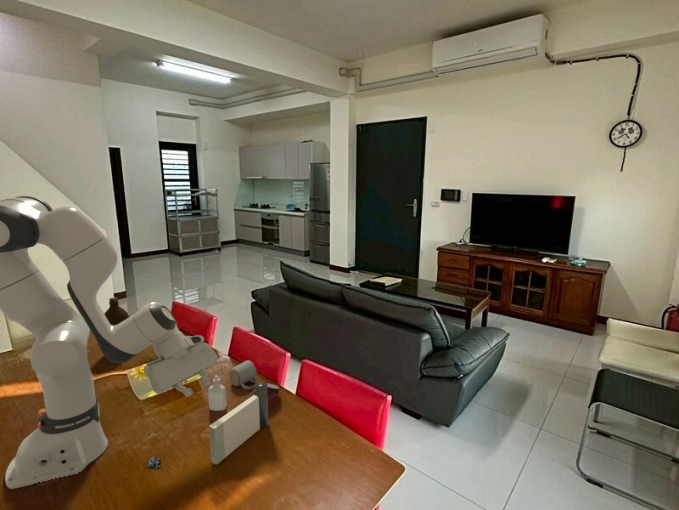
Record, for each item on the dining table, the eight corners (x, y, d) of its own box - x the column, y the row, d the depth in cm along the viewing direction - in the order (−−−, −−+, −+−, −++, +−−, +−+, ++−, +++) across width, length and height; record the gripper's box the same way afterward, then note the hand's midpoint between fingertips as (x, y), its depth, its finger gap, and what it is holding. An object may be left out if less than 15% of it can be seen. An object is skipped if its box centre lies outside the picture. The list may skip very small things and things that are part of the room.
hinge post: (259, 430, 114) (257, 389, 111) (255, 424, 117) (253, 384, 114) (270, 426, 116) (269, 386, 113) (265, 420, 119) (264, 380, 116)
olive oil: (102, 351, 165) (96, 298, 160) (128, 344, 172) (123, 293, 168) (108, 359, 158) (102, 304, 153) (135, 351, 165) (130, 298, 160)
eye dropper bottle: (217, 414, 122) (215, 381, 119) (207, 408, 125) (205, 376, 122) (228, 408, 125) (226, 375, 123) (218, 402, 128) (216, 370, 126)
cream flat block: (254, 426, 115) (253, 394, 113) (259, 428, 114) (258, 396, 112) (211, 461, 100) (208, 426, 98) (216, 464, 99) (214, 428, 97)
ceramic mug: (227, 383, 140) (227, 365, 139) (245, 375, 147) (245, 357, 145) (244, 394, 134) (244, 375, 132) (262, 384, 140) (262, 366, 138)
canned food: (252, 408, 133) (246, 380, 135) (279, 399, 136) (273, 372, 139) (255, 411, 123) (249, 381, 125) (284, 402, 126) (278, 373, 128)
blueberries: (162, 452, 106) (161, 446, 105) (176, 463, 101) (175, 457, 100) (137, 465, 101) (136, 459, 100) (150, 478, 96) (149, 472, 95)
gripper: (145, 360, 99) (171, 403, 96) (206, 333, 116) (230, 370, 113) (136, 371, 102) (161, 413, 99) (197, 343, 119) (220, 379, 116)
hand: (198, 390), depth 106 cm, fingers open, 5 cm apart
